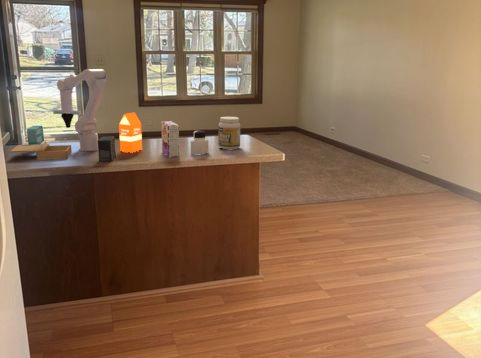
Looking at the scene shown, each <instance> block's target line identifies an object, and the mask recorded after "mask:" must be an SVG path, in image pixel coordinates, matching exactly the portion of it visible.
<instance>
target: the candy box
mask: <svg viewBox="0 0 481 358" xmlns="http://www.w3.org/2000/svg"><path fill="white" fill-rule="evenodd" d="M160 124H161V150H162V153H163V154H164V155H165V154H166V155H167V156H166V155H165V156H166V157H167V158H179V157H180V125H179V124H178V123H176V122H174V121H172V120H169V121H168V120H166V121H164V120H163V121H161V123H160ZM178 156H179V157H178Z"/></svg>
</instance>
